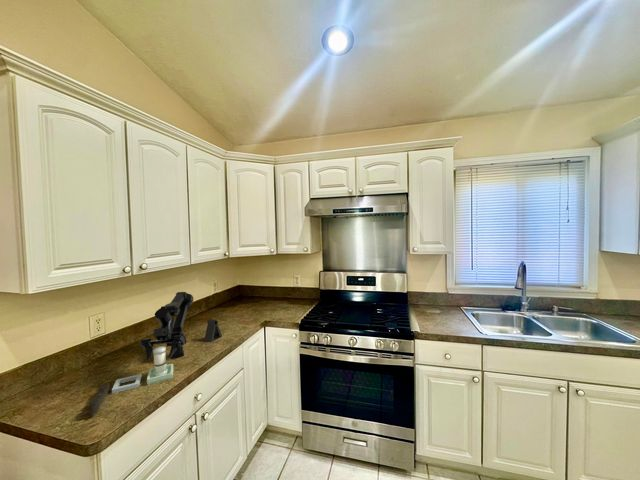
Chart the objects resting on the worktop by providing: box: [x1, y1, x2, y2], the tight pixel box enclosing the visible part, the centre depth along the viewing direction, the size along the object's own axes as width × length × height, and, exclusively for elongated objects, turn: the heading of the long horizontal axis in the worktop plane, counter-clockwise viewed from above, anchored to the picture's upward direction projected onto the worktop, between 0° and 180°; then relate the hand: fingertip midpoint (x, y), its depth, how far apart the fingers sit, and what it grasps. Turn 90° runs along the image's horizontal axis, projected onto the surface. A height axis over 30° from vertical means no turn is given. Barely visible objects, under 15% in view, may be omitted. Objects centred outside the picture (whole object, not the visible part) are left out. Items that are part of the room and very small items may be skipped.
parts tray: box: [146, 363, 174, 386], centre depth 129 cm, size 11×10×2 cm
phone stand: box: [204, 318, 223, 342], centre depth 173 cm, size 9×6×12 cm, turn 153°
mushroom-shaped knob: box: [152, 345, 167, 377], centre depth 129 cm, size 5×5×12 cm
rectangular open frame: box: [111, 373, 143, 394], centre depth 123 cm, size 10×10×2 cm
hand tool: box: [89, 383, 112, 418], centre depth 109 cm, size 19×4×5 cm, turn 24°
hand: (158, 359), depth 128 cm, fingers open, 9 cm apart
